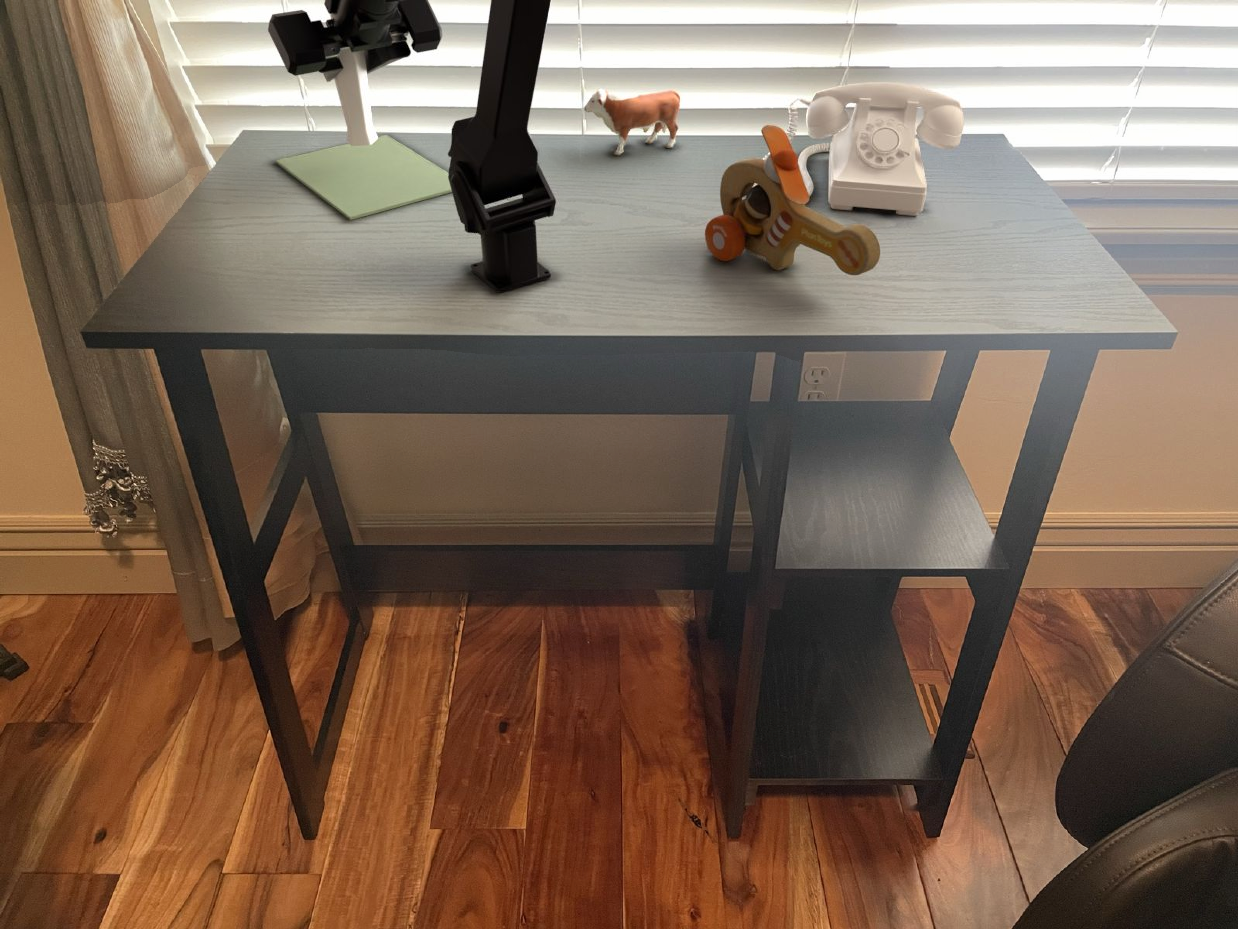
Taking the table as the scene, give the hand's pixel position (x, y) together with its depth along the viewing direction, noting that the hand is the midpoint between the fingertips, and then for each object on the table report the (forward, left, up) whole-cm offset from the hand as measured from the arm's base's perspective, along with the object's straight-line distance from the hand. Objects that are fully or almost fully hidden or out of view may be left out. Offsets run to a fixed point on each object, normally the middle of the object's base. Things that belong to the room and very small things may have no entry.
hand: (345, 74), depth 112 cm
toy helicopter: (-50, -28, -12) cm, 58 cm away
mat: (-1, -1, -12) cm, 12 cm away
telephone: (-36, -52, -12) cm, 64 cm away
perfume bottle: (-1, 0, -8) cm, 8 cm away
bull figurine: (-12, -35, -12) cm, 39 cm away
